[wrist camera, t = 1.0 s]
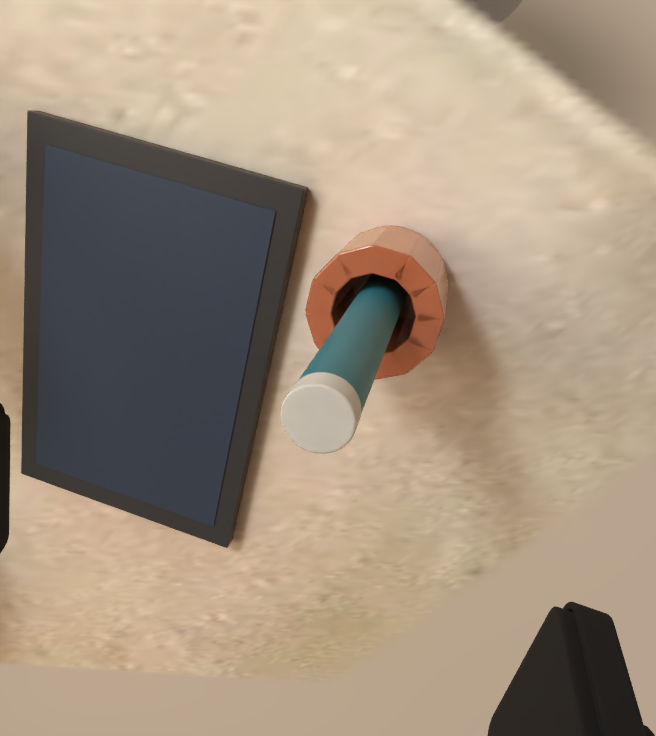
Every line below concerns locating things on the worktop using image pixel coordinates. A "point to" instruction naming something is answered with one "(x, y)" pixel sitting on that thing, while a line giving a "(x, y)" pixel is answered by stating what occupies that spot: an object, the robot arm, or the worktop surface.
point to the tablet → (149, 321)
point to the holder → (395, 261)
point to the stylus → (343, 370)
